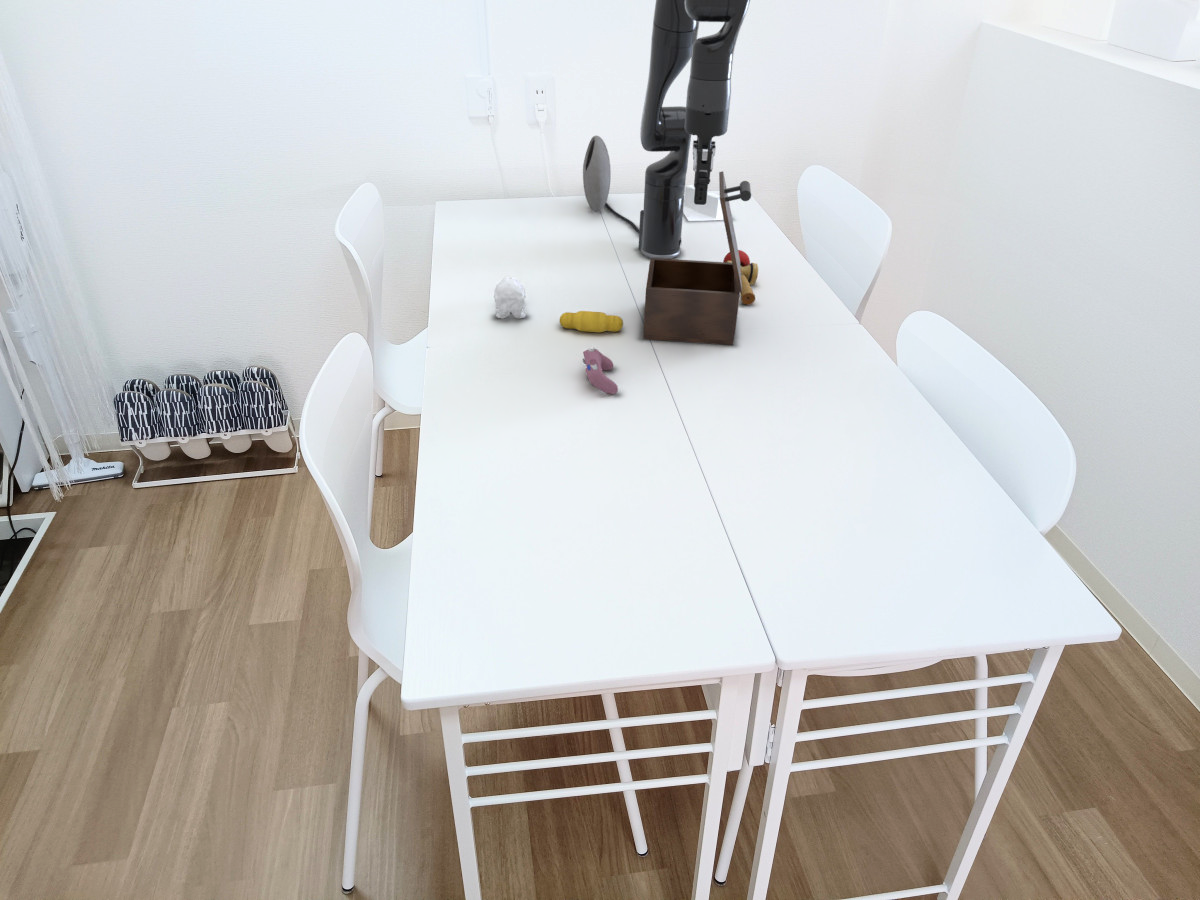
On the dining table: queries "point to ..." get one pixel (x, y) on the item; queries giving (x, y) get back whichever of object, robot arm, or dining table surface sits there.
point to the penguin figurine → (509, 298)
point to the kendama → (746, 276)
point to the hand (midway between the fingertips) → (699, 195)
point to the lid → (724, 200)
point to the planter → (596, 174)
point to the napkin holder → (702, 206)
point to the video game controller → (599, 370)
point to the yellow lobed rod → (591, 321)
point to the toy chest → (691, 301)
